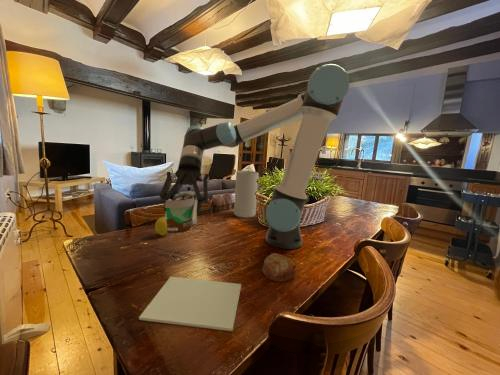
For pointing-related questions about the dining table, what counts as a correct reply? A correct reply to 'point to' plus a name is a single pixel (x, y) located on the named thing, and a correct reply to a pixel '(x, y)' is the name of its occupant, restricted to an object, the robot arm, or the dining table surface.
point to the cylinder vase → (245, 194)
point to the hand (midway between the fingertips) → (180, 220)
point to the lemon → (161, 226)
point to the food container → (179, 213)
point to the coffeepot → (194, 197)
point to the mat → (195, 304)
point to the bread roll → (278, 267)
